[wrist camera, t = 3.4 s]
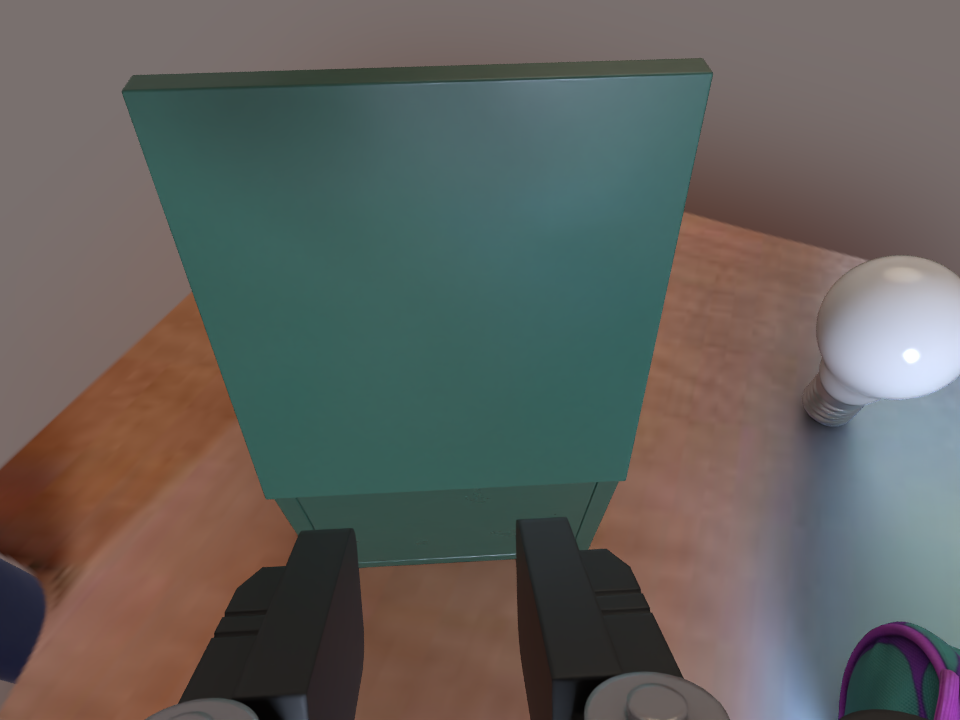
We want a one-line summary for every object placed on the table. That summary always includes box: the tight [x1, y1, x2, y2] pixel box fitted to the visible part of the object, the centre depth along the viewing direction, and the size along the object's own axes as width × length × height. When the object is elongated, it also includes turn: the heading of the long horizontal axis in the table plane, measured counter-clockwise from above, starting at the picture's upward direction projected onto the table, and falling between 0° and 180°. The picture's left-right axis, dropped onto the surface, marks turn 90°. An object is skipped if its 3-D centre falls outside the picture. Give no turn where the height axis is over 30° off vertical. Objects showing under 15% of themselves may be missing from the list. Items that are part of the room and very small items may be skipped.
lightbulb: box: [802, 255, 960, 427], centre depth 34 cm, size 6×6×11 cm
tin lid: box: [122, 58, 713, 499], centre depth 21 cm, size 14×13×1 cm
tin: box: [275, 481, 619, 568], centre depth 34 cm, size 14×13×10 cm
